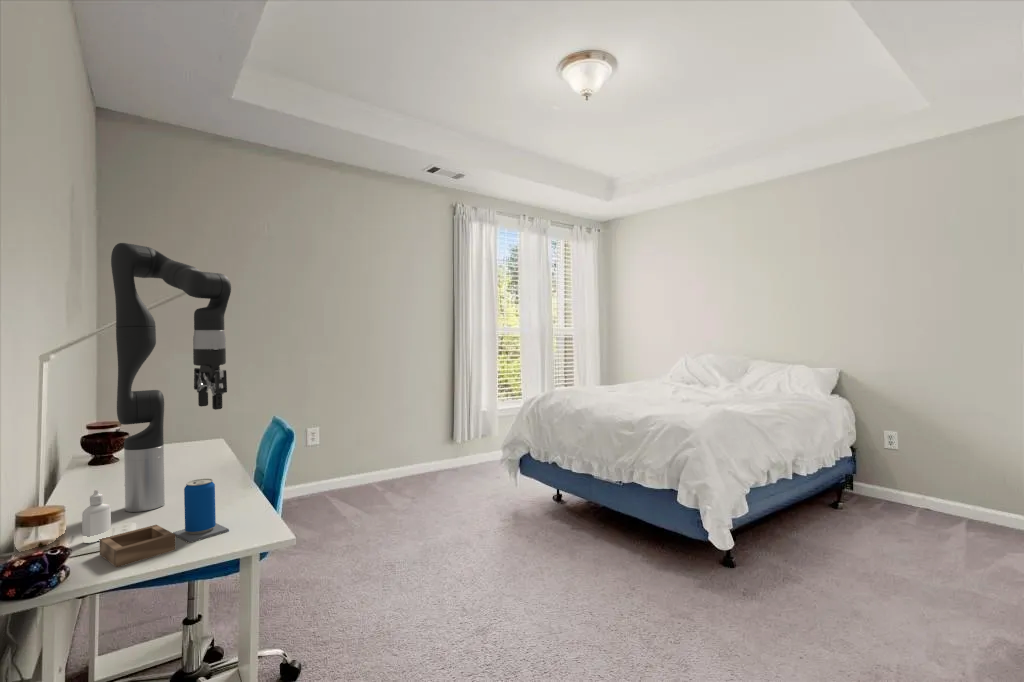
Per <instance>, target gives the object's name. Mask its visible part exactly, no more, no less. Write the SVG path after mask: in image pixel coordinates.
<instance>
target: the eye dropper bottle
mask: <svg viewBox="0 0 1024 682" xmlns="http://www.w3.org/2000/svg"><path fill="white" fill-rule="evenodd" d="M111 511H112V510H111V505H110V504H109V503H104V494H102V493H100V491H99V488H97V489H94V490H93V493H92V494H91V495H90V496H89V506H88V507H87V508H85V509H84V510H83V511H82V513H81V516H82V517H81V520H82V521H81V524H82V525H81V526H82V530H81V531H82V534H81V535H82V536H87V537H90V536H94V535H98V534H101V533H104V532H106V531H108V530H109V529H111V530H112V519H111V517H112V512H111Z"/></svg>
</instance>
